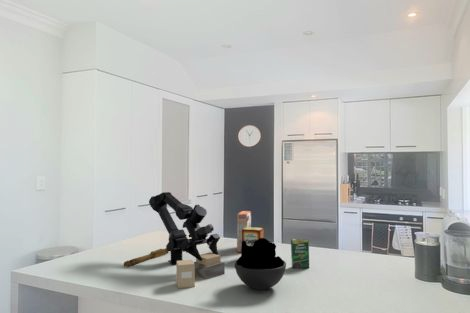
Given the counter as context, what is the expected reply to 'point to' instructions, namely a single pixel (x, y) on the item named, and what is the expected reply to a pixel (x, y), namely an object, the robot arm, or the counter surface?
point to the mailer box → (185, 274)
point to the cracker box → (242, 226)
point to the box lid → (209, 259)
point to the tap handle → (146, 257)
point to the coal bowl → (260, 265)
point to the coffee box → (300, 253)
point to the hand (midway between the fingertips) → (209, 258)
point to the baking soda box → (252, 235)
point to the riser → (209, 270)
